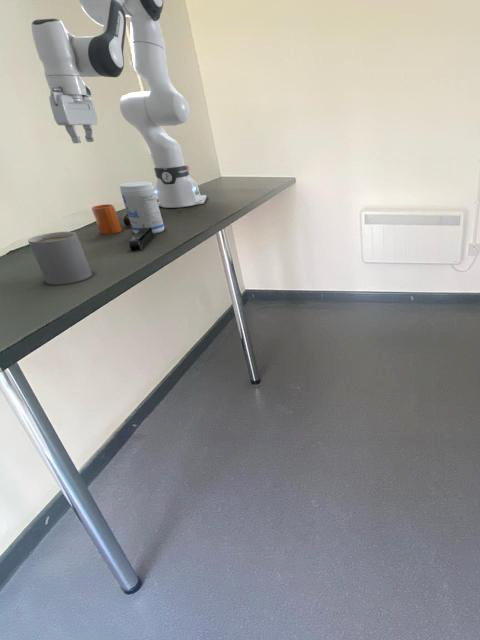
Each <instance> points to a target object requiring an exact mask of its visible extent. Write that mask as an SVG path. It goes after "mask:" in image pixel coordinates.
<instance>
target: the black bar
mask: <svg viewBox="0 0 480 640" xmlns="http://www.w3.org/2000/svg"><path fill="white" fill-rule="evenodd" d="M154 235H155V234H153V231H152V228H151V227H147V228H142V229H141V230H140V231H139V232H138V233H136V234H135V233H134V235H133V236H132V237H131V238H130V239H129V240H128V246H129V248H130V250H131V251H134V252H135V251H142V250H143V249H144V248H145V247H146V246H147V244H148V243H149V242H150V240H151V239H153V237H154Z"/></svg>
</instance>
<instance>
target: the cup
mask: <svg viewBox="0 0 480 640" xmlns="http://www.w3.org/2000/svg"><path fill="white" fill-rule="evenodd" d="M91 210H92V211H91V212H92V214H93V216H94V219H95V222H96V224H97V227H98V230H99V232H100V234H101V235H111V234H118V233H121V232H122V231H123V229H122V225H121V223H120V220H119V217H118V214H117V210H116V207H115V205H114V204H111V203H110V204H109V203H108V204H98V205H93V206H91Z"/></svg>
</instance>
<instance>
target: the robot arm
mask: <svg viewBox="0 0 480 640" xmlns="http://www.w3.org/2000/svg"><path fill="white" fill-rule="evenodd" d="M78 1H79V4H80V6H81V8H82V10H83V11H84V13H85V14H86V15H87V17H89V18H90V20H92V21H93V22H94V23H95V24H97V25H99V26H101V27H102V32H101V33H100V34H97V35H92V36H75V35H74V34H72V33H71V32H69V31H68V30H67V29H66V28H65V25H64V23H63V22H62V20H60V19H58V18H42V19H40V18H39V19H35V20H33V21H32V22H31V35H32V38H33V43H34V45H35V49H36V52H37V55H38V58H39V60H40V62H41V63H42V66H43V69H44V77H45V79H46V82H47V85H48V89H49V91H50V93H49V94H50V95H49V96H48V99H49V104H50V108H51V112H52V116H53V118H54V121H55V123H56V124H57V126H64V128H65V130H66V133H68V135H69V137H70V139H71V142H72V144H81V143H82V141H81V138H80V135H78V133H77V129H76V126H82V128H83V130H84V133H85V135H84V136H85V141H86V142H88V143H94V142H95V138H94V129H93V125H98V117H97V113H96V112H97V111H96V109H95V104H94V101H93V100H92V97H93V93H92V90H91V88H90V87H89V86H87V85H86V84H85V82H84V81H83V79H82V78H94V77H96V78H97V77H103V78H104V77H105V78H118V77H120V75H121V74H122V72H123V70H124V68H125V58H124V57H125V56H124V48H125V40H126V31H127V17H128V19H129V21H130V25H129V28H130V29H129V30H130V33H129V34H130V36H129V37H130V47H131V55H132V56H131V57H132V64H133V69H134V71H135V73H136V74H137V75H138V76H139V78H140V79H143V80H144V81H146V82H147V84H148V88H149V89H148V90H149V91H135V92H130V93H127V94H125V95H122V96H121V97H120V100H119V110H120V113H121V115H122V117H123V118H124V120H125V121H126V122H127V123H128V124H130V125H131V126H132V127H134V128H135V129H136V130H137V131H138V132H139V134H140V135H141V136H142V138H143V139H144V141H145V143H146V144H147V147H148V149H149V153H150V155H151V159H152V162H153V166H154V168H153V170H154V174H155V177H156V179H157V181H156V182H155V183H154V185H155V190H154V191H155V194H157V195H156V196H157V202H158V206H159V207H162V208H167V209H168V208H169V209H171V208H172V209H173V208H174V209H175V208H185V207H191V206H196V205H202V204H204V203H205V202H206V201H207V198H208V197H207V195H206V194H201V192H200V189H199V185H198V183H197V182H196V181H195V180H194V179H193V178H192V177H191V175H190V172H189V171H190V166H189V165H188V164H185V160H184V156H183V152H182V147H181V145H180V143H179V142H178V141H177V140H176V139H175V138H172V137H171V136H170V135H169V134H168V133H167V132H166V130H165V129H164V127H170V126H171V127H172V126H174V127H175V126H178V125H179V126H180V125H183V124H184V123H185V124H186V123H187V122H188V120H189V118H190V111H191V110H190V106H189V104H188V102H187V100H186V98H185V97H184V96H183V95H182V93H180V92H178V90H177V89H176V88H175V86H174V85H173V83H172V80H171V78H170V74H169V69H168V63H167V54H166V45H165V39H164V34H163V29H162V26H161V23H160V21H159V20H160V18H161V15H162V12H163V9H164V0H78Z"/></svg>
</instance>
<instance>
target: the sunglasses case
mask: <svg viewBox="0 0 480 640" xmlns="http://www.w3.org/2000/svg"><path fill="white" fill-rule="evenodd" d="M123 223H124V226H126V227H127V228H132V227H131V223H130V220H129V217H128V214H127V213H126V215H125V216H124V218H123Z"/></svg>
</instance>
